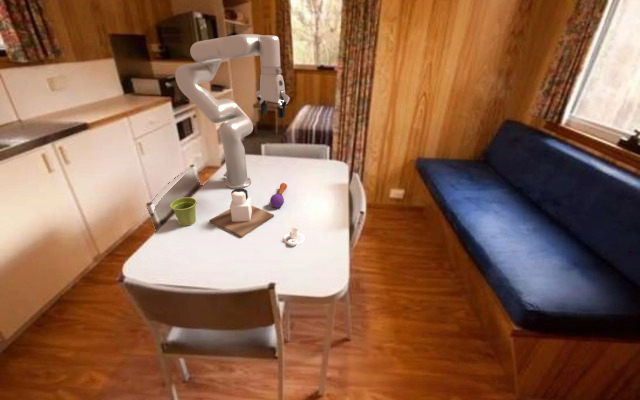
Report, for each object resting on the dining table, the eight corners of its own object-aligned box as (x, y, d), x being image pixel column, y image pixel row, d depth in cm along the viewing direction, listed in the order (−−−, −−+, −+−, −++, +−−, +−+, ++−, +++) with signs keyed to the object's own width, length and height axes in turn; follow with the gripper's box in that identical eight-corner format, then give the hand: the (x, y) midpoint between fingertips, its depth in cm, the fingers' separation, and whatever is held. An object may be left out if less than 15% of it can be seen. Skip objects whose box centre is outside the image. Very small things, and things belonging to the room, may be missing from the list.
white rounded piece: (294, 249, 109) (294, 240, 107) (277, 242, 113) (276, 233, 111) (308, 237, 116) (308, 228, 114) (291, 230, 119) (291, 222, 117)
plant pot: (205, 218, 125) (201, 199, 121) (189, 230, 117) (185, 211, 113) (186, 214, 127) (182, 195, 123) (169, 225, 120) (164, 206, 115)
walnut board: (209, 222, 123) (209, 219, 122) (243, 203, 136) (242, 201, 135) (241, 237, 114) (241, 235, 113) (274, 216, 127) (273, 214, 127)
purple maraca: (290, 181, 148) (283, 198, 129) (288, 192, 150) (281, 211, 132) (278, 179, 147) (269, 195, 129) (276, 190, 150) (267, 208, 132)
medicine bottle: (234, 212, 127) (231, 186, 121) (252, 212, 128) (249, 186, 122) (231, 222, 121) (228, 195, 115) (250, 221, 122) (247, 194, 116)
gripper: (294, 72, 118) (295, 117, 127) (261, 68, 127) (264, 110, 135) (281, 74, 113) (283, 120, 121) (247, 70, 121) (251, 114, 129)
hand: (273, 115), depth 128 cm, fingers open, 9 cm apart
